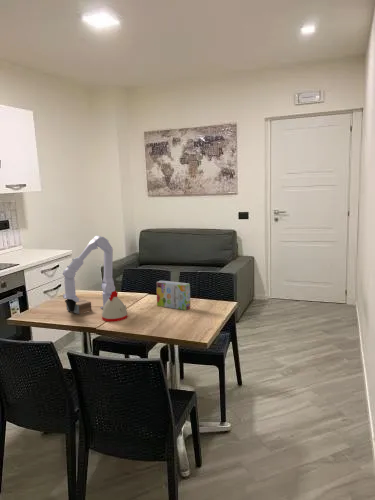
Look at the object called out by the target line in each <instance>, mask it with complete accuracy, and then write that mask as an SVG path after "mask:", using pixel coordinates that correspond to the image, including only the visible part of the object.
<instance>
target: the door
mask: <svg viewBox="0 0 375 500" xmlns="http://www.w3.org/2000/svg"><path fill="white" fill-rule="evenodd" d="M65 306H66V311H68V312H69V309H68V306H67V304H66V303H65ZM73 313H74V314H79V305H78V304H75V309H74V312H73ZM79 315H80V314H79Z"/></svg>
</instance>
